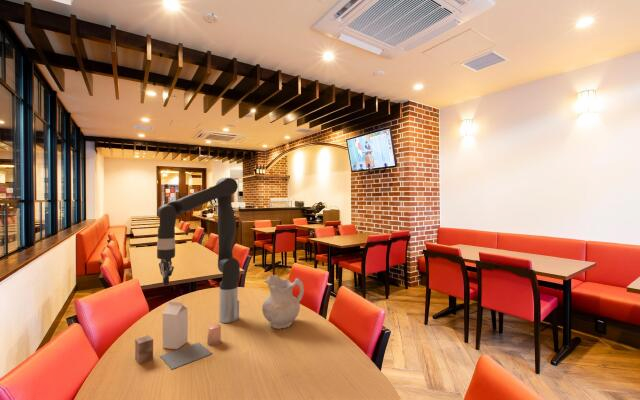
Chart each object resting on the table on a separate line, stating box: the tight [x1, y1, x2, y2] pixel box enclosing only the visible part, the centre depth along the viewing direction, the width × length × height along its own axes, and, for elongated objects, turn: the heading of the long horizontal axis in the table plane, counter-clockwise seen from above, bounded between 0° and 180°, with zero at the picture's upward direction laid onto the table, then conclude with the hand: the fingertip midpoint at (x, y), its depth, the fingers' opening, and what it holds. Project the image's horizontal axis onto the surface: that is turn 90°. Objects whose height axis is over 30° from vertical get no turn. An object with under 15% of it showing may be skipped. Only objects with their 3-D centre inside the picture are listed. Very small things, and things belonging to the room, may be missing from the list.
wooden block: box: [134, 334, 154, 365], centre depth 118 cm, size 5×5×8 cm
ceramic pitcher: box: [261, 274, 305, 330], centre depth 152 cm, size 22×20×25 cm
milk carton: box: [162, 300, 189, 350], centre depth 129 cm, size 7×7×19 cm
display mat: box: [159, 342, 213, 370], centre depth 121 cm, size 16×13×1 cm
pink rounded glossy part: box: [206, 323, 222, 347], centre depth 132 cm, size 6×6×7 cm
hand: (165, 284), depth 138 cm, fingers closed
